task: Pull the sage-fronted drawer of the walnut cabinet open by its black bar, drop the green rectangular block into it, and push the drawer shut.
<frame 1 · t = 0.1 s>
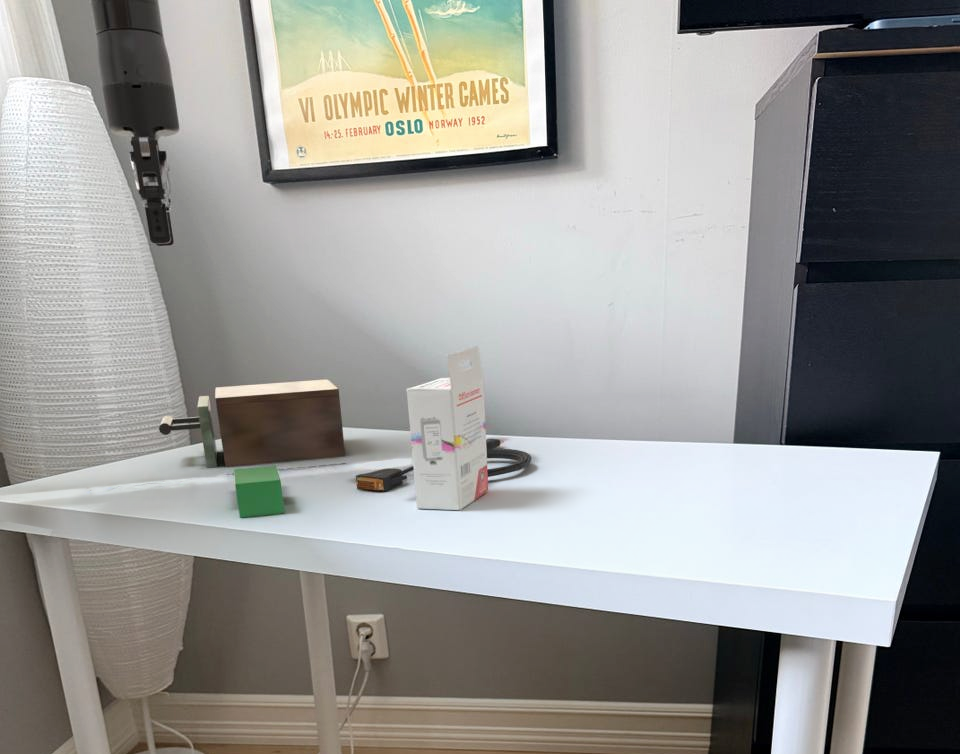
hand: (163, 244, 108), 26 cm above the table, tool pointing down, fingers open, 8 cm apart
green rectangular block: (260, 507, 96), on the table
cabinet: (283, 460, 120), on the table
drawer: (237, 428, 117), point 5 cm above the table, slide at 1.0 cm
ink cartridge box: (452, 502, 95), on the table
cable: (475, 471, 109), on the table
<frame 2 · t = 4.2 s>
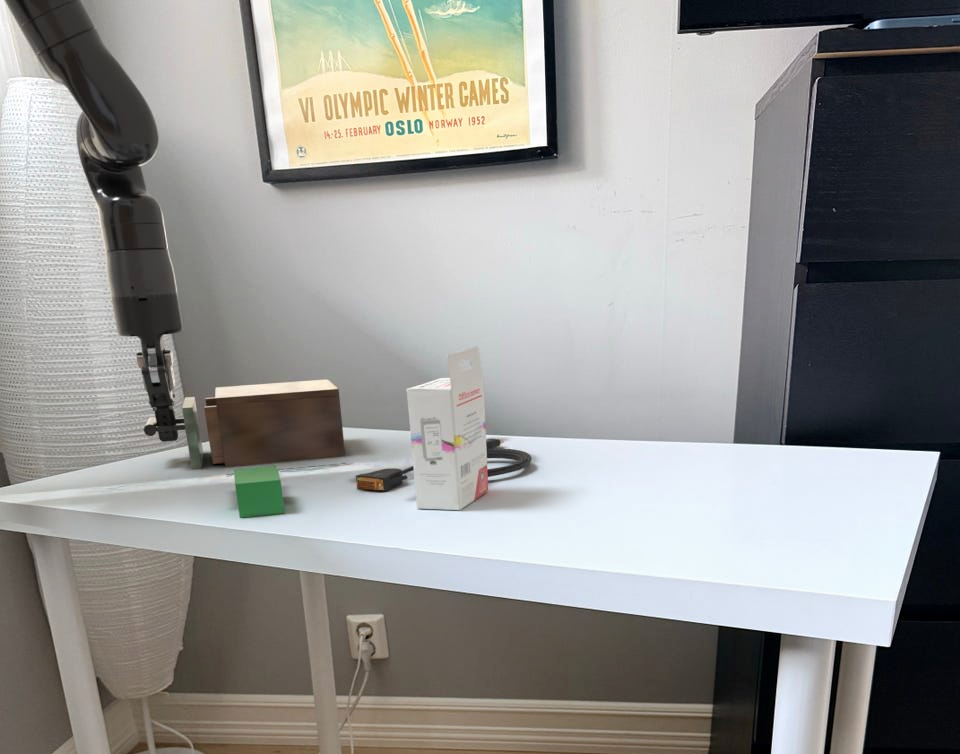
hand: (169, 440, 116), 4 cm above the table, tool pointing down, fingers closed
drawer: (223, 429, 117), point 5 cm above the table, slide at 2.8 cm, touching gripper
everything else where it was.
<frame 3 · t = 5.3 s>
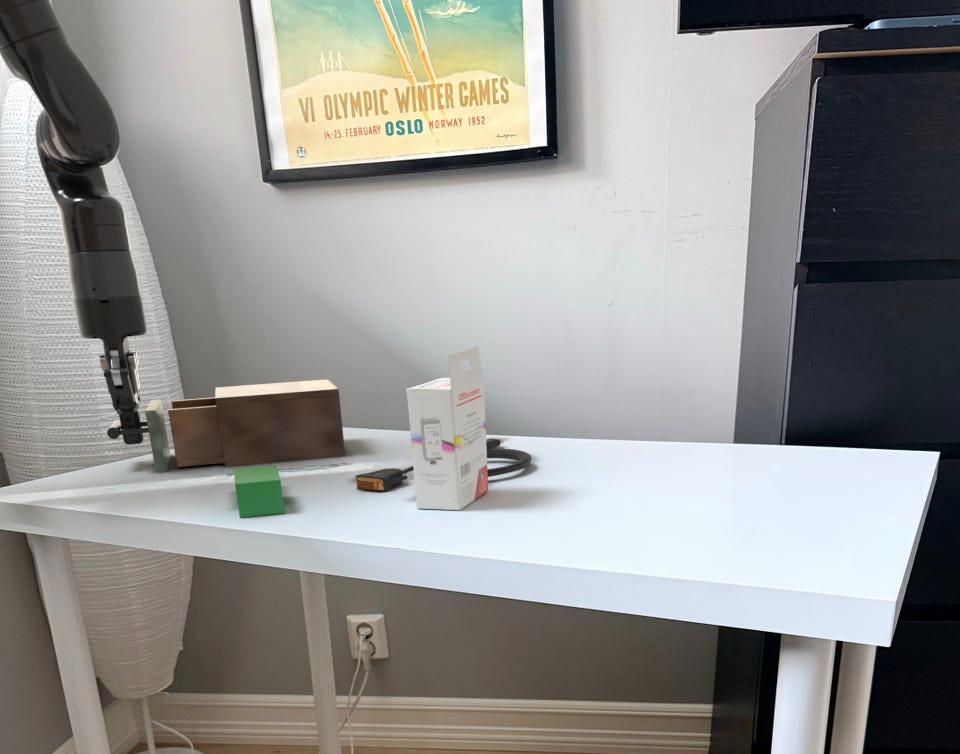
hand: (134, 443, 115), 4 cm above the table, tool pointing down, fingers closed
drawer: (189, 432, 116), point 5 cm above the table, slide at 6.9 cm, touching gripper
everything else where it was.
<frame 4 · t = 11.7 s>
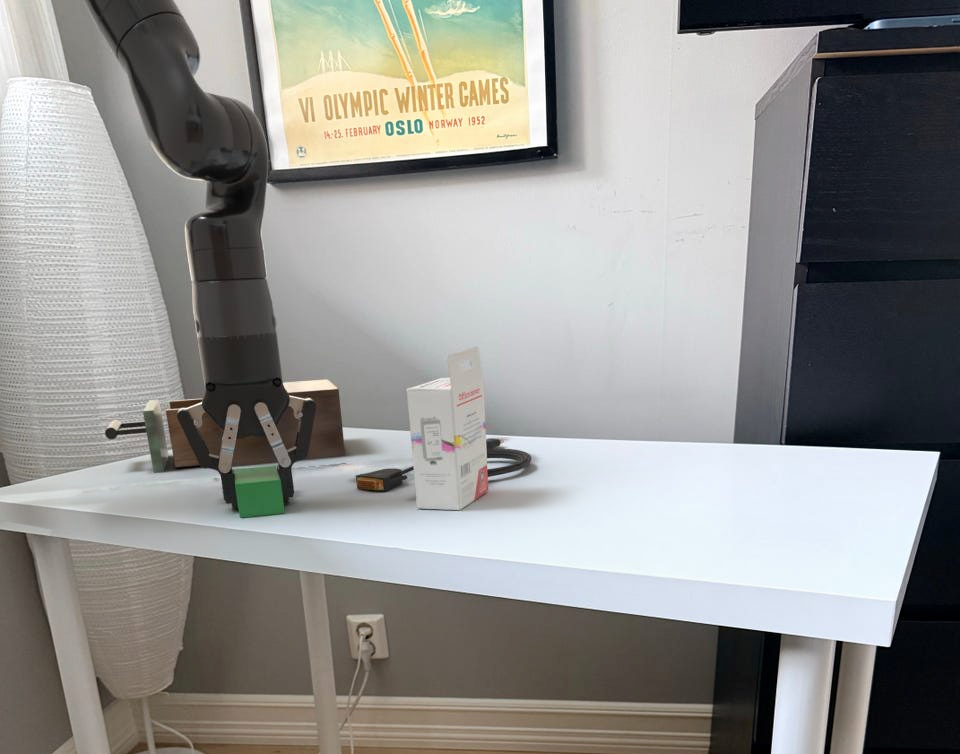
hand: (260, 503, 96), 0 cm above the table, tool pointing down, fingers closed on green rectangular block, 4 cm apart
green rectangular block: (260, 506, 96), on the table, touching gripper
drawer: (187, 432, 116), point 5 cm above the table, slide at 7.2 cm
everything else where it was.
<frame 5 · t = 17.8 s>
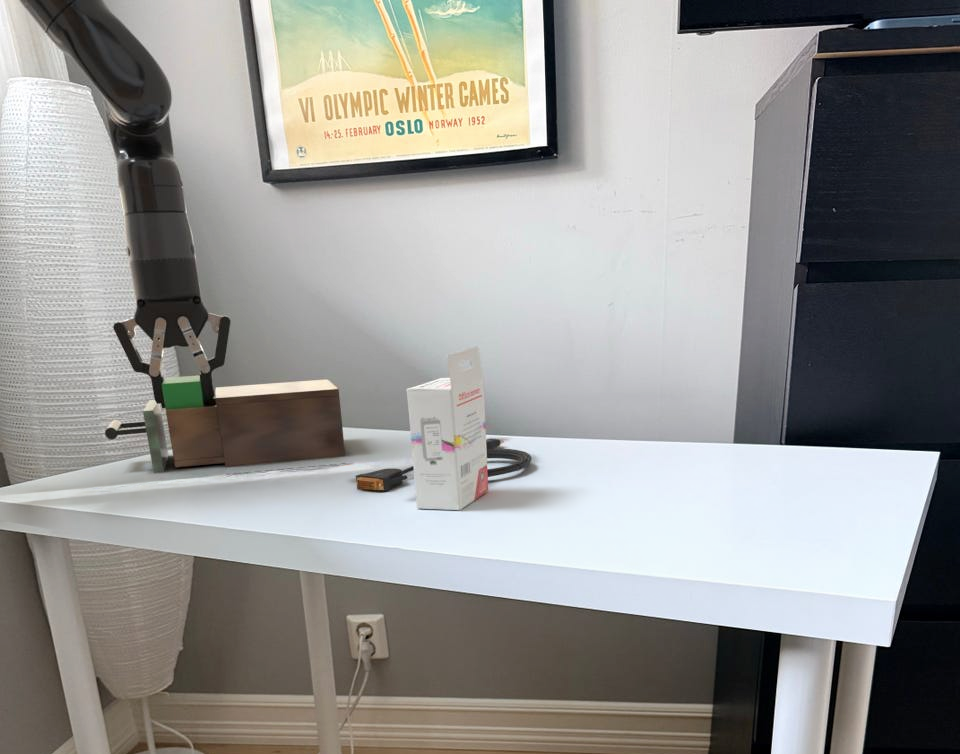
hand: (185, 405, 115), 8 cm above the table, tool pointing down, fingers closed on green rectangular block, 4 cm apart
green rectangular block: (186, 407, 115), point 8 cm above the table, touching gripper
everything else where it was.
when the fingers open (10 cm above the table, at t = 30.0 s): green rectangular block drops 8 cm, resting on drawer.
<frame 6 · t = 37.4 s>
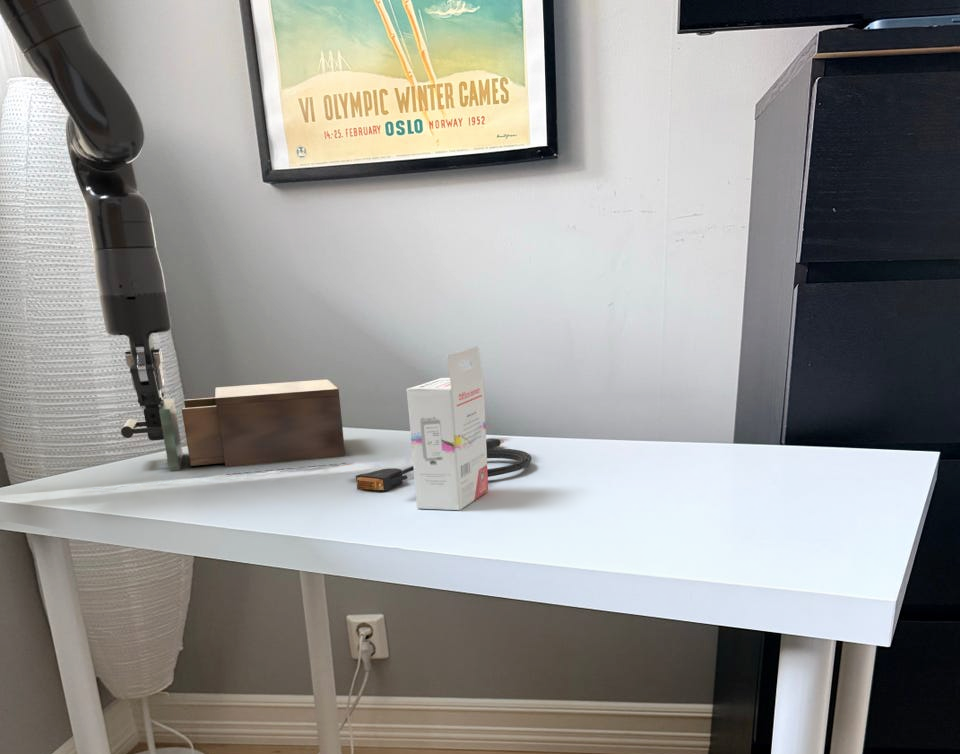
hand: (158, 439, 115), 4 cm above the table, tool pointing down, fingers closed
green rectangular block: (210, 451, 117), point 2 cm above the table, touching drawer
drawer: (202, 431, 116), point 5 cm above the table, slide at 5.3 cm, touching gripper, green rectangular block
everything else where it was.
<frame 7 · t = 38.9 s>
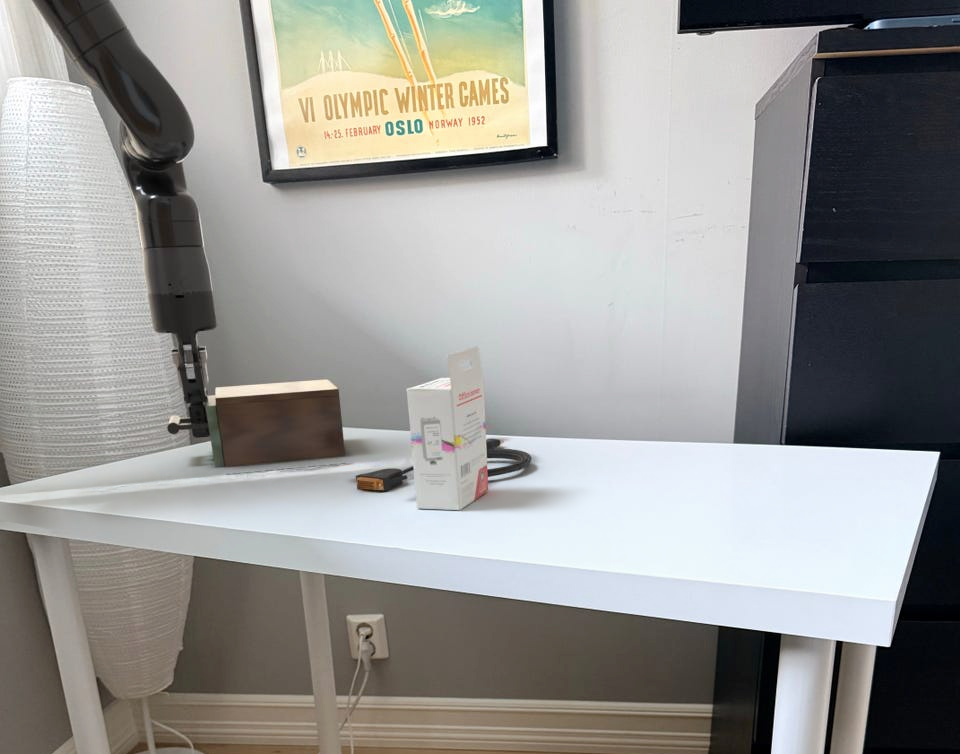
hand: (202, 436, 116), 4 cm above the table, tool pointing down, fingers closed
green rectangular block: (253, 447, 118), point 2 cm above the table, touching drawer
drawer: (245, 427, 117), point 5 cm above the table, slide at 0.0 cm, touching green rectangular block
everything else where it was.
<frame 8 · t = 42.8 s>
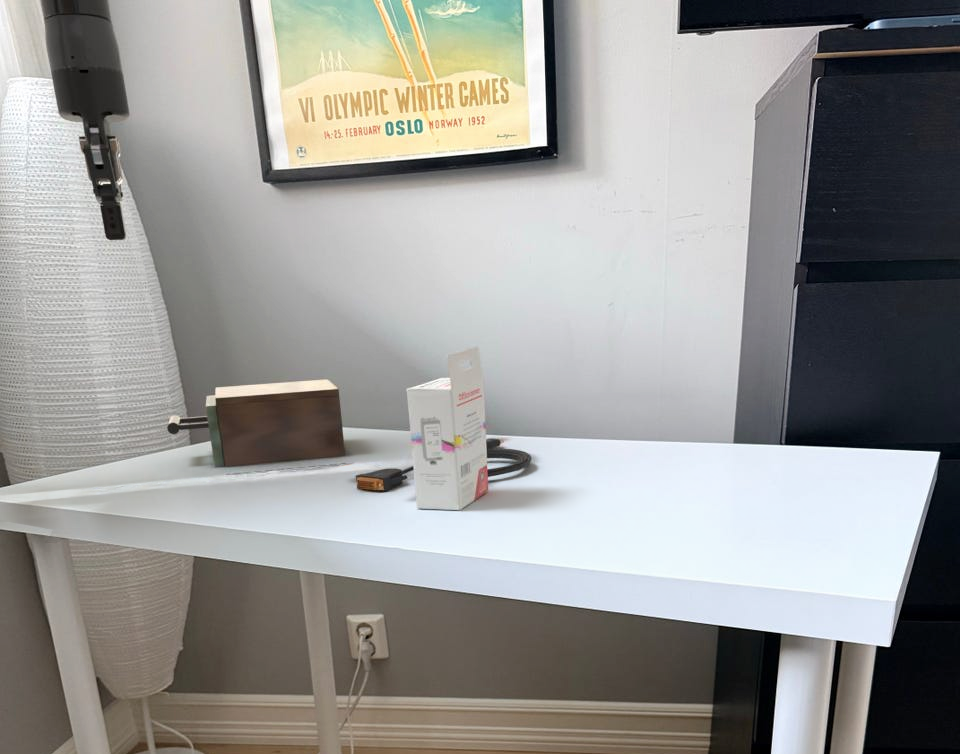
hand: (116, 239, 109), 27 cm above the table, tool pointing down, fingers closed
nothing on the table moved.
at the end: green rectangular block inside the target area in the cabinet (3.7 cm from its centre), point 2.0 cm above the cabinet's base; drawer slide at 0.0 cm; the gripper is holding nothing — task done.
